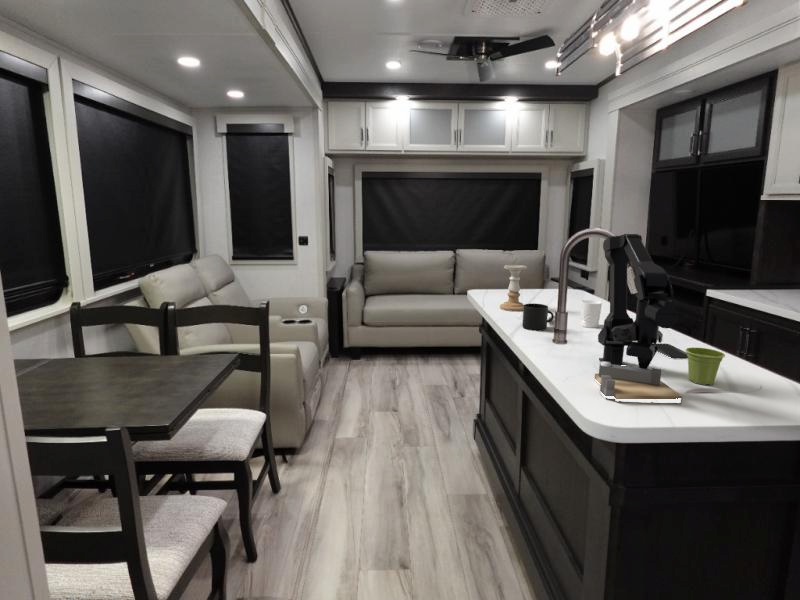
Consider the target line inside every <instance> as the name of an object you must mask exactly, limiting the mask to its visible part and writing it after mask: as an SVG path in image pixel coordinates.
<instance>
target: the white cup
mask: <svg viewBox="0 0 800 600" xmlns="http://www.w3.org/2000/svg"><path fill="white" fill-rule="evenodd" d="M602 304H603V302H601V301H599V300H594V299H593V300H592V299H585V300H583V299H582V300H581V301H580V326H581V327H583V328H590V329H593V328H599V322H600V318H601V311H602Z"/></svg>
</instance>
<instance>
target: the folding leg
mask: <svg viewBox="0 0 800 600" xmlns="http://www.w3.org/2000/svg"><path fill="white" fill-rule="evenodd" d="M598 368H599V369H598V374H599V376H601V375H609V376H610V377H612V378H614V379H621V380H628V381H635V382H642V383H649V384H654V385H660V380H661V378H662V377H661V376H662V369H661V368H655V367H652V369H650V368H647V369H643V368H639V367H636V366H635V367H634V366H628V365H627V366H621V365H614V364H611V363H610V362H605V361H603V362H601V361H600V363H599V367H598Z"/></svg>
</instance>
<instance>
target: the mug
mask: <svg viewBox="0 0 800 600" xmlns="http://www.w3.org/2000/svg"><path fill="white" fill-rule="evenodd" d="M523 305H524V307H523V311H522V328H523V329H525V330H528V331H534V330H536V331H538V332H539V330H541V331H545V330H547V329H548V323H551V322H552V321H553V320H554V313H553V312H552V311H550V310H549V306H548V305H547V304H543V303H542V304H541V303H525V304H523ZM548 314H550V316H551V318H550V319H548V317H549V316H548Z"/></svg>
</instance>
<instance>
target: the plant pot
mask: <svg viewBox="0 0 800 600" xmlns="http://www.w3.org/2000/svg"><path fill="white" fill-rule="evenodd" d="M685 352H686V353H687V356H688V359H687V365H688V367H687V368H688V369H687V371H688V381H691V382H692V381H693V382H692V383H694V382H696V383H695V384H698V383H699V385H702V384H706V385H710V384H712V385H714V384H715V381H716V378H717V375H718V371H719V367H720V365H721V362H723V359H724V358H725V357H726V354H725V353H723V352H721V351H719V350H717V349H716V350H715V349H711V348H705V347H694V346H693V347H687V348H686V349H685ZM713 383H714V384H713Z"/></svg>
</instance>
